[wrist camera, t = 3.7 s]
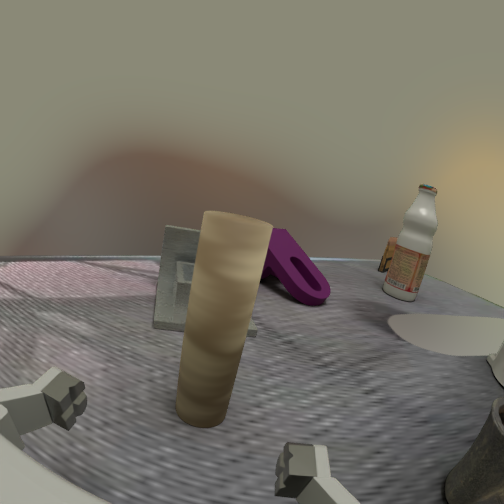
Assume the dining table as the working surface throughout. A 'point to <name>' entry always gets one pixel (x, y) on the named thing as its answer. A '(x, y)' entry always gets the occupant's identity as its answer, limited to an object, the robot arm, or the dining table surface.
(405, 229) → the fruit juice
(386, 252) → the ammunition clip
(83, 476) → the dining table surface
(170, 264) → the cup bracket
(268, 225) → the tan wooden cylinder
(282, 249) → the mounting bracket
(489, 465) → the pipe
